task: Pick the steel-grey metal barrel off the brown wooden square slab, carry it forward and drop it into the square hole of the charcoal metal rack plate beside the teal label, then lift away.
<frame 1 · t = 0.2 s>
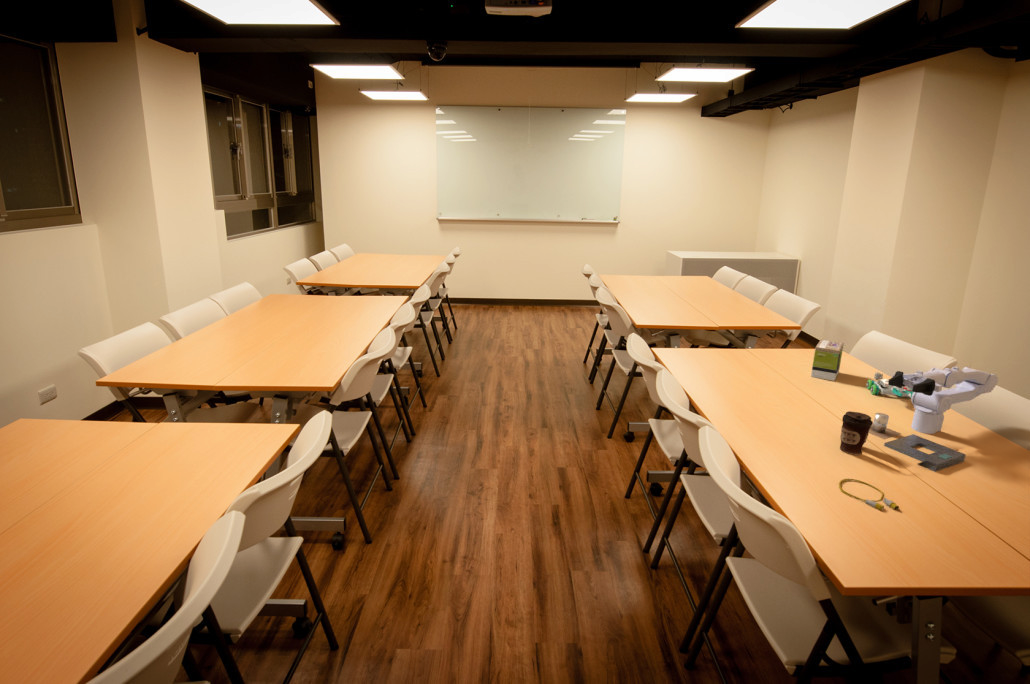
hand: (901, 385, 184), 21 cm above the table, tool horizontal, fingers open, 7 cm apart
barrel: (878, 430, 196), point 1 cm above the table, touching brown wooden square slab
tea box: (824, 375, 257), on the table
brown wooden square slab: (877, 434, 196), on the table
coffee cup: (850, 451, 184), on the table
robot kit: (896, 398, 231), on the table
yellow looped cable: (864, 497, 159), on the table
rack plate: (922, 455, 182), on the table
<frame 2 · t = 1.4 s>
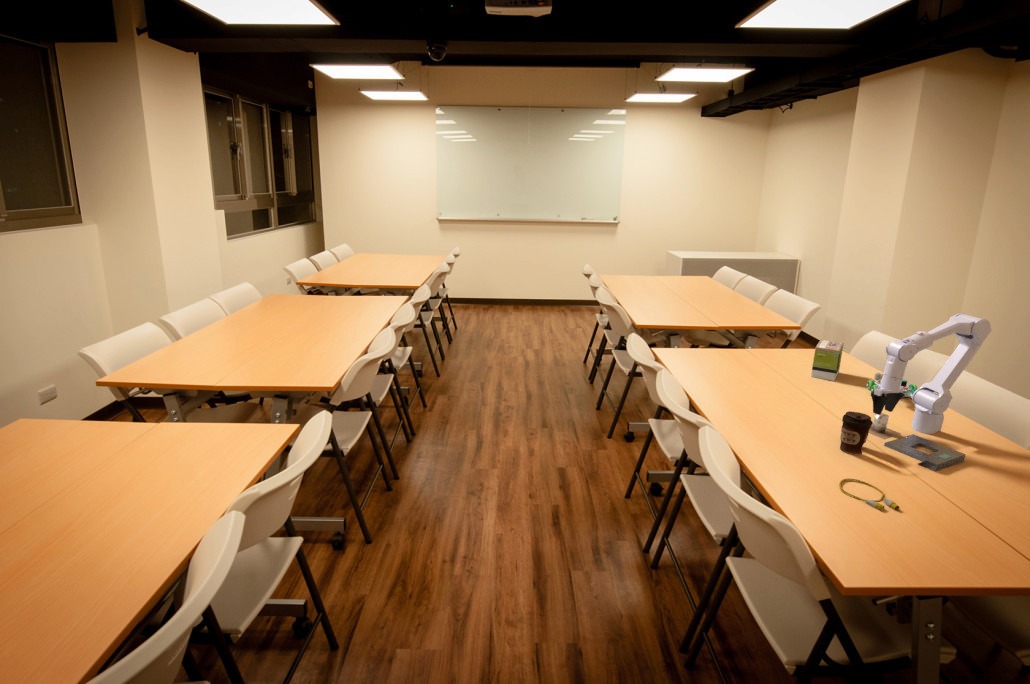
hand: (882, 412, 194), 9 cm above the table, tool pointing down, fingers open, 7 cm apart
nothing on the table moved.
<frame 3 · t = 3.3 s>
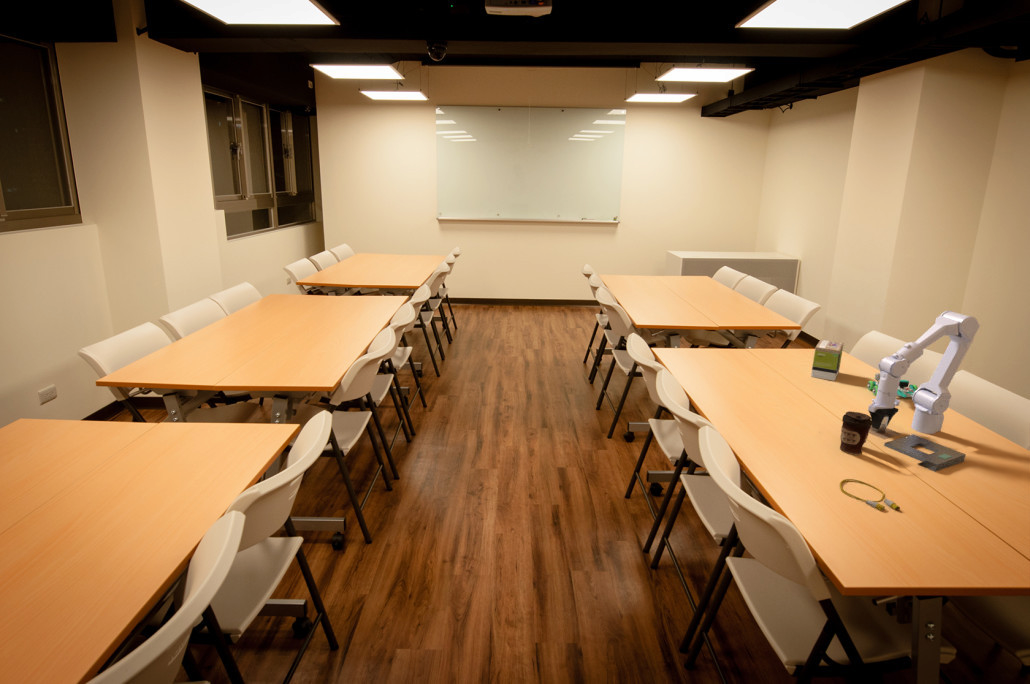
hand: (879, 427, 196), 3 cm above the table, tool pointing down, fingers closed on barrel, 4 cm apart
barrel: (878, 430, 196), point 1 cm above the table, touching gripper, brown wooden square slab
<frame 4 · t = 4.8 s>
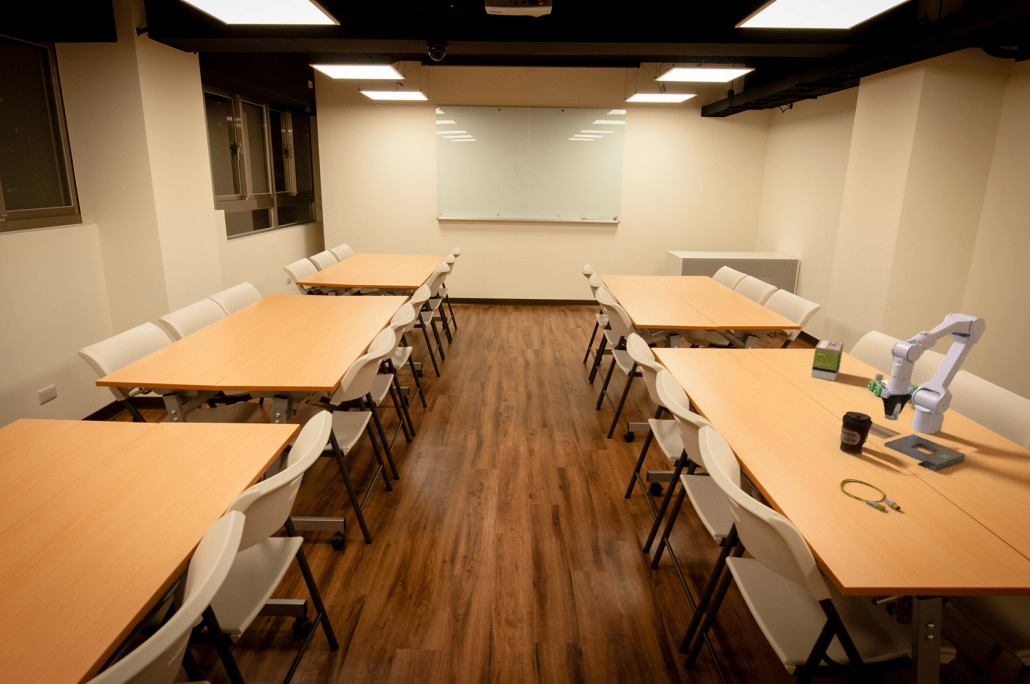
hand: (892, 413, 191), 9 cm above the table, tool pointing down, fingers closed on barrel, 4 cm apart
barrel: (891, 418, 191), point 8 cm above the table, touching gripper
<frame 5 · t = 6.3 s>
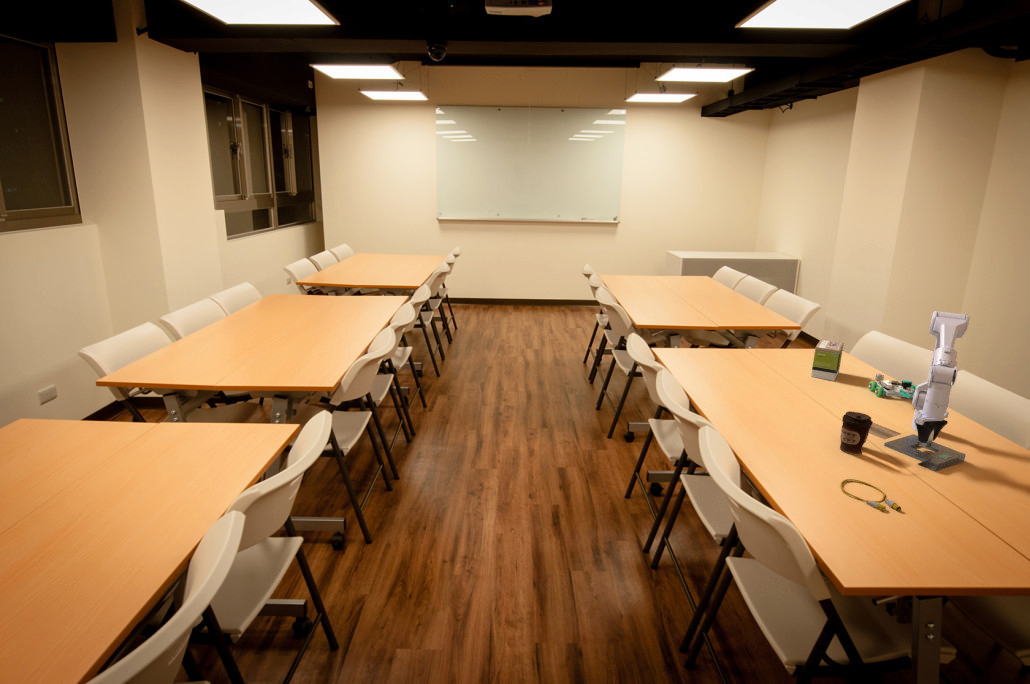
hand: (926, 440, 180), 5 cm above the table, tool pointing down, fingers closed on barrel, 4 cm apart
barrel: (923, 445, 181), point 4 cm above the table, touching gripper
when the fingers open (3 cm above the table, at t = 7.5 s): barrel drops 2 cm, resting in rack plate.
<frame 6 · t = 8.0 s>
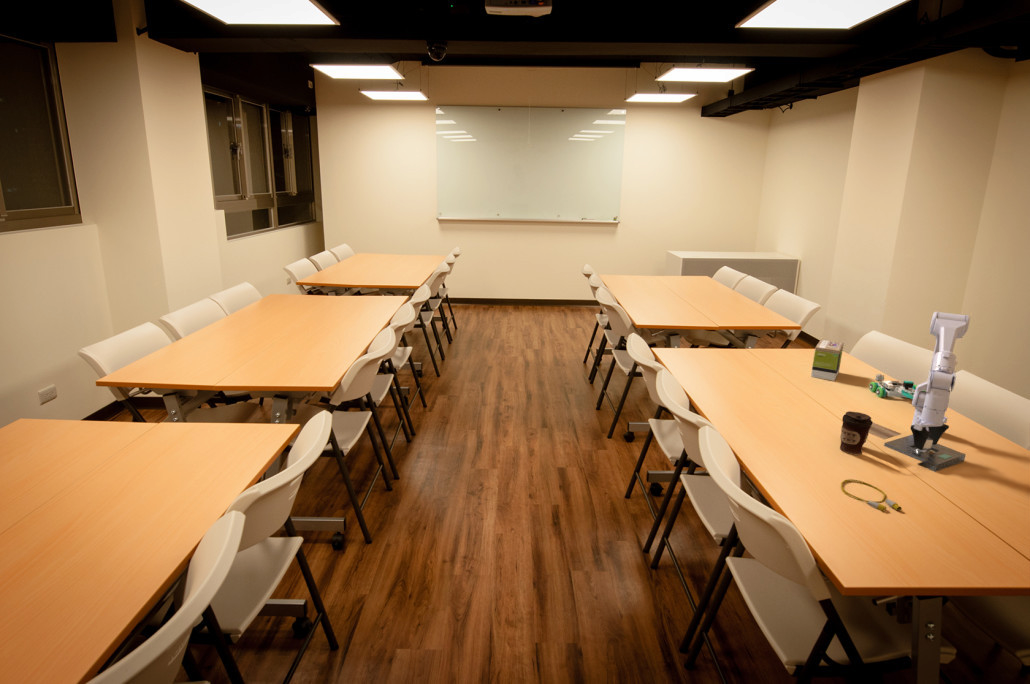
hand: (925, 446, 181), 3 cm above the table, tool pointing down, fingers open, 7 cm apart
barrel: (921, 454, 182), resting in rack plate
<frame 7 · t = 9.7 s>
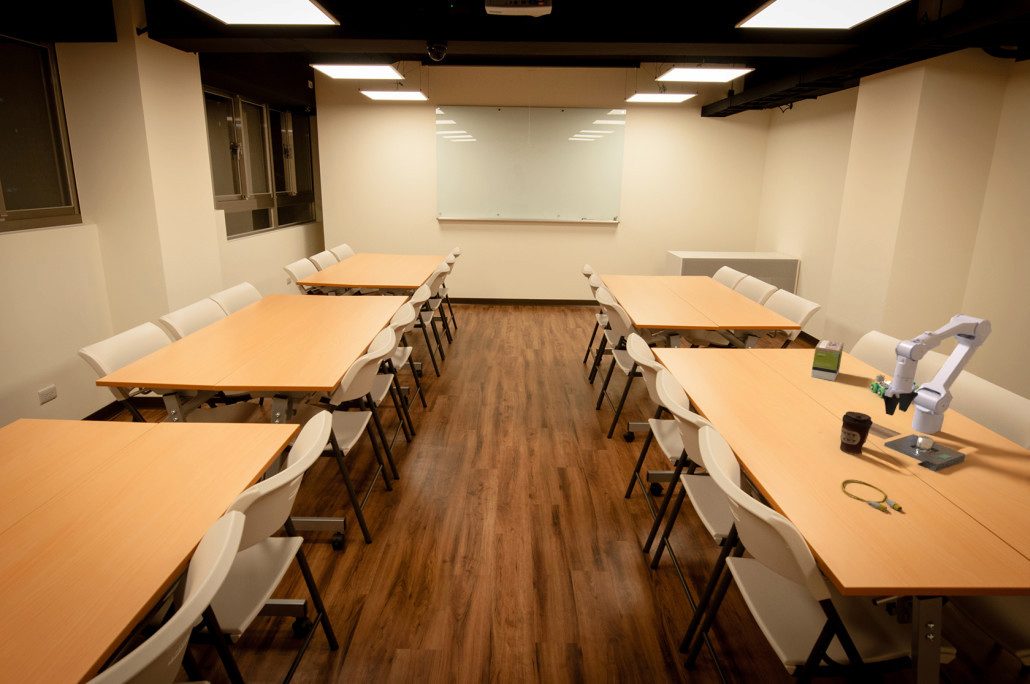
hand: (895, 412, 192), 9 cm above the table, tool pointing down, fingers open, 7 cm apart
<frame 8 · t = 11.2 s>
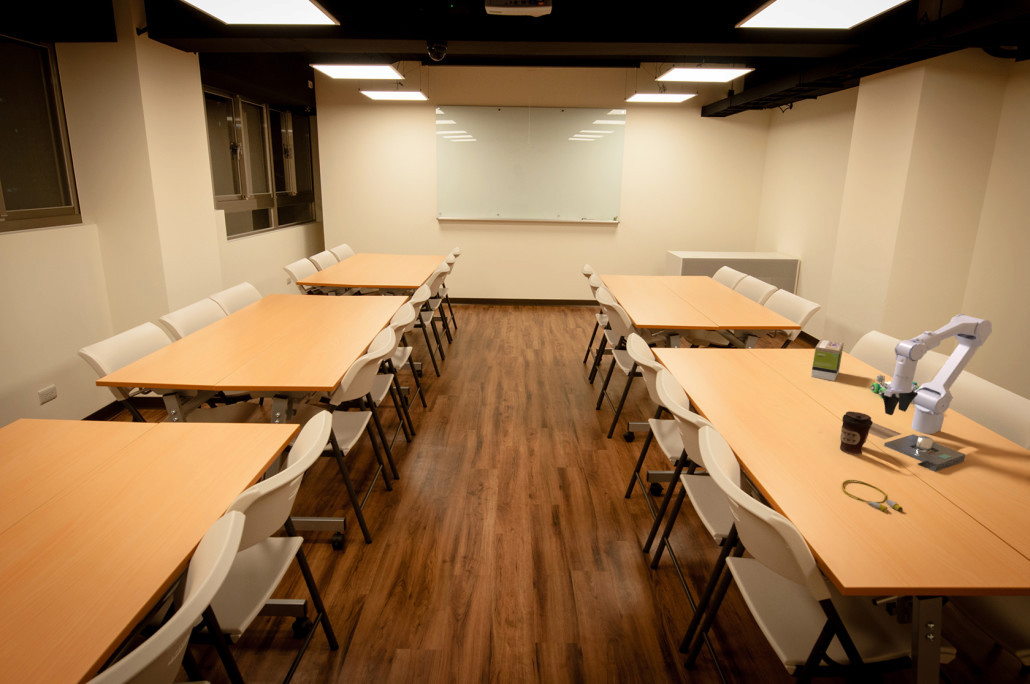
hand: (895, 412, 192), 9 cm above the table, tool pointing down, fingers open, 7 cm apart
at the end: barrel 0.4 cm from the rack plate (horizontally); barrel resting in rack plate; the gripper is holding nothing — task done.
